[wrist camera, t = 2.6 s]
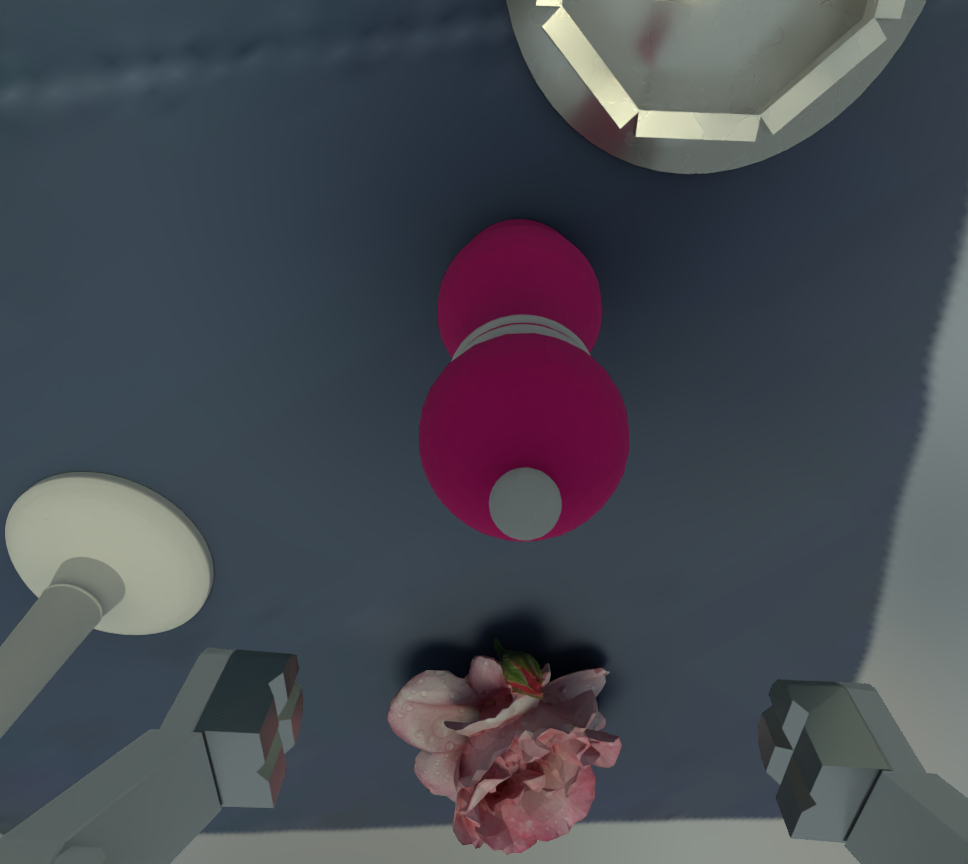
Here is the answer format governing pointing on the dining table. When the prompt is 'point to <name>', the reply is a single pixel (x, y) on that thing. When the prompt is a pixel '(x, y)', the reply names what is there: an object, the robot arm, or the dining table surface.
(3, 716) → the candlestick
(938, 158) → the dining table surface
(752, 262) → the dining table surface
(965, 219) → the dining table surface
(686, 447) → the dining table surface
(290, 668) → the robot arm
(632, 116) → the silver metal plate
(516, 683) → the flower
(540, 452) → the pepper mill
